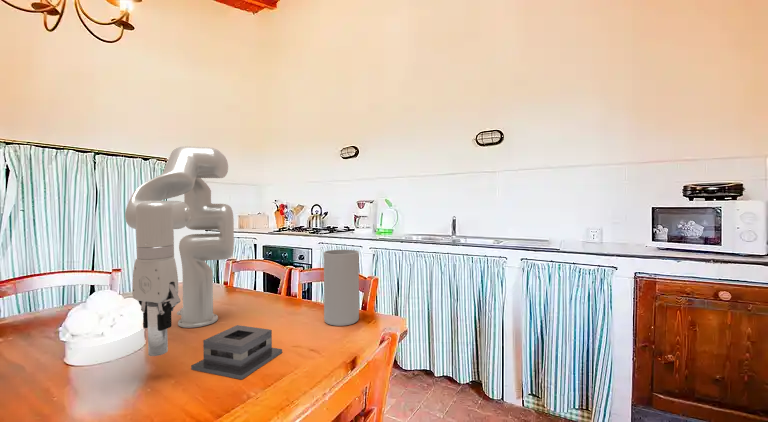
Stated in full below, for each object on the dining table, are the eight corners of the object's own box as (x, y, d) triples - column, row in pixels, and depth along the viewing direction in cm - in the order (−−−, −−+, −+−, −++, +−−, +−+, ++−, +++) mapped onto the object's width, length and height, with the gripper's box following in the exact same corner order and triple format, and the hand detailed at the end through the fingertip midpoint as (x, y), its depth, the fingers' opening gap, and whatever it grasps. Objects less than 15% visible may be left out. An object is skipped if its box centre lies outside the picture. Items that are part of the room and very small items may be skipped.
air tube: (143, 354, 83) (142, 293, 82) (159, 347, 87) (158, 288, 86) (156, 357, 82) (154, 294, 81) (172, 350, 86) (170, 290, 85)
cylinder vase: (344, 329, 116) (344, 255, 116) (316, 322, 123) (316, 252, 123) (365, 318, 127) (365, 251, 127) (339, 313, 134) (338, 248, 133)
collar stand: (191, 369, 88) (190, 342, 88) (236, 345, 103) (236, 322, 103) (241, 379, 83) (241, 350, 83) (282, 352, 98) (282, 328, 98)
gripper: (115, 253, 82) (117, 328, 83) (167, 257, 77) (168, 338, 78) (146, 249, 90) (147, 318, 90) (195, 252, 84) (196, 326, 85)
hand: (157, 326), depth 84 cm, fingers closed on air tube, 4 cm apart
